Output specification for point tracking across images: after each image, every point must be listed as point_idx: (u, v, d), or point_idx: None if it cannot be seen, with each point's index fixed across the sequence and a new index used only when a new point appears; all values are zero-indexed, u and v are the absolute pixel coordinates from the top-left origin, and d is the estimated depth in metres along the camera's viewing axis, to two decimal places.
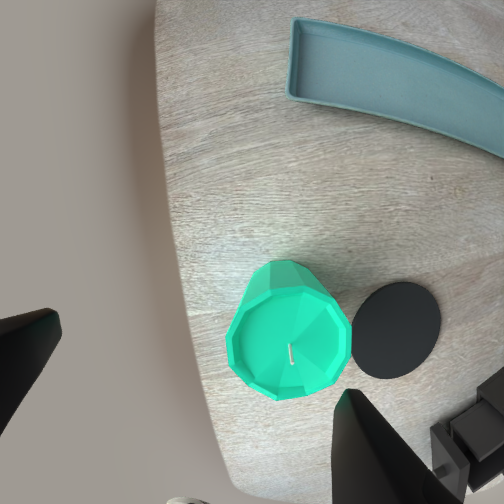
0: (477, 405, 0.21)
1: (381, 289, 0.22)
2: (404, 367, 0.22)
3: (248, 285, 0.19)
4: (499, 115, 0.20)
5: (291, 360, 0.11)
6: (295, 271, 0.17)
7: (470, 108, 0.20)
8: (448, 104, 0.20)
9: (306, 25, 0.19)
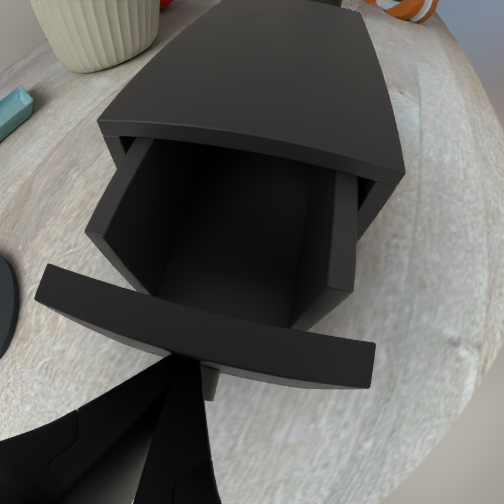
0: None
1: None
2: (0, 327, 0.13)
3: None
4: (12, 110, 0.23)
5: None
6: None
7: None
8: None
9: None
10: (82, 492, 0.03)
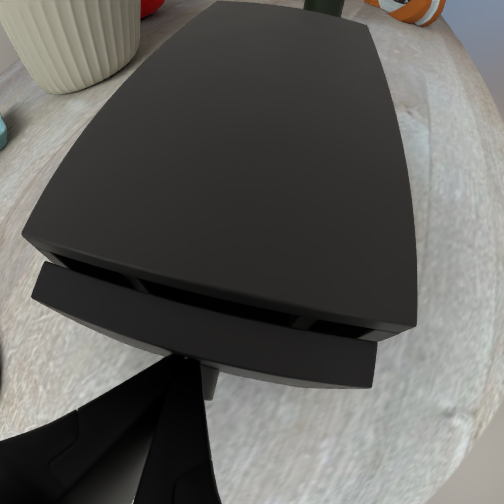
0: None
1: None
2: None
3: None
4: None
5: None
6: None
7: None
8: None
9: None
10: (82, 492, 0.03)
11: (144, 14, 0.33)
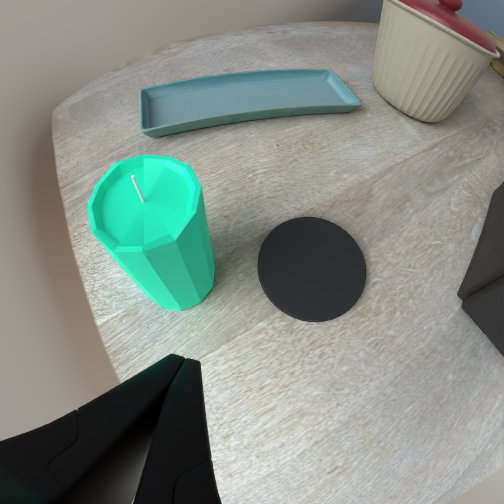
0: None
1: (270, 232, 0.24)
2: (346, 296, 0.22)
3: None
4: (322, 89, 0.34)
5: None
6: None
7: (292, 94, 0.33)
8: (272, 98, 0.32)
9: (150, 91, 0.31)
10: (82, 492, 0.03)
11: None
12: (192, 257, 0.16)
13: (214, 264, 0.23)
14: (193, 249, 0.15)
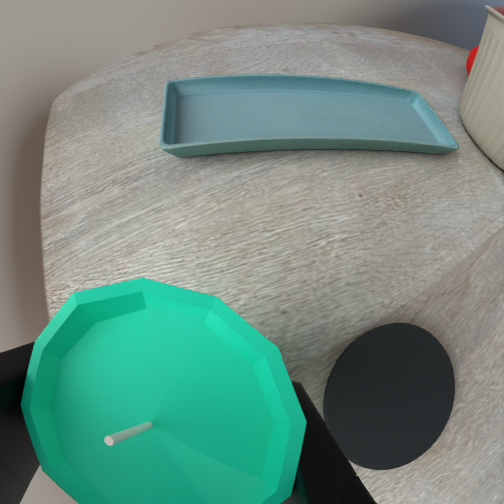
0: None
1: (348, 347, 0.15)
2: (426, 436, 0.12)
3: None
4: (409, 116, 0.24)
5: (110, 435, 0.03)
6: None
7: (375, 117, 0.23)
8: (350, 119, 0.23)
9: (181, 86, 0.22)
10: None
11: None
12: None
13: None
14: None
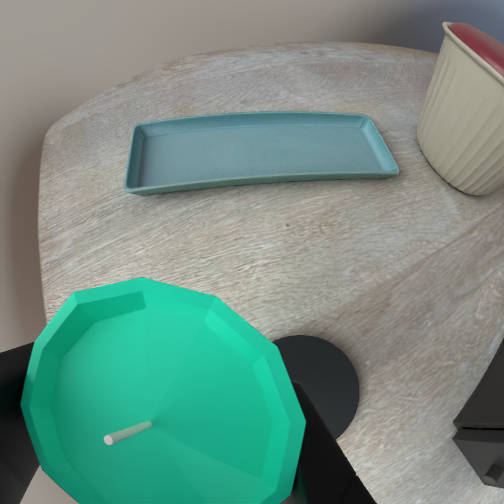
0: None
1: None
2: None
3: None
4: (355, 142, 0.29)
5: (109, 434, 0.03)
6: None
7: (318, 147, 0.28)
8: (291, 152, 0.28)
9: (146, 128, 0.27)
10: None
11: None
12: None
13: None
14: None
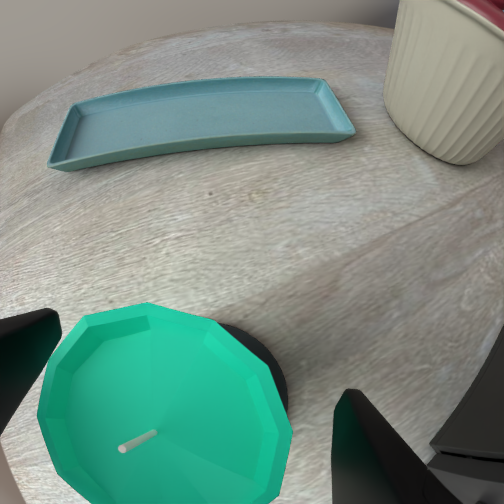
0: None
1: None
2: None
3: None
4: (306, 106, 0.25)
5: (122, 444, 0.04)
6: None
7: (259, 112, 0.24)
8: (227, 118, 0.24)
9: (83, 107, 0.23)
10: None
11: None
12: None
13: None
14: None
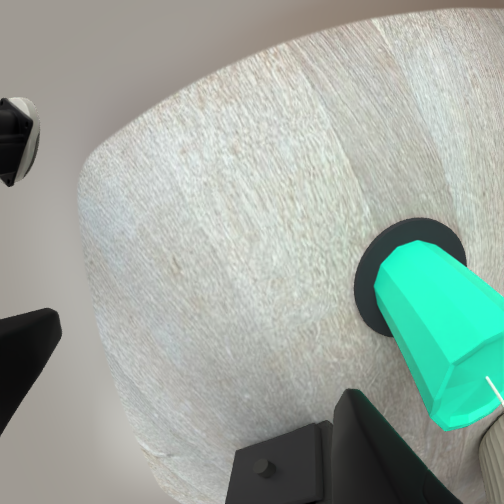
0: None
1: (459, 241, 0.17)
2: (373, 311, 0.19)
3: (466, 268, 0.13)
4: None
5: None
6: None
7: None
8: None
9: None
10: None
11: None
12: None
13: None
14: None
